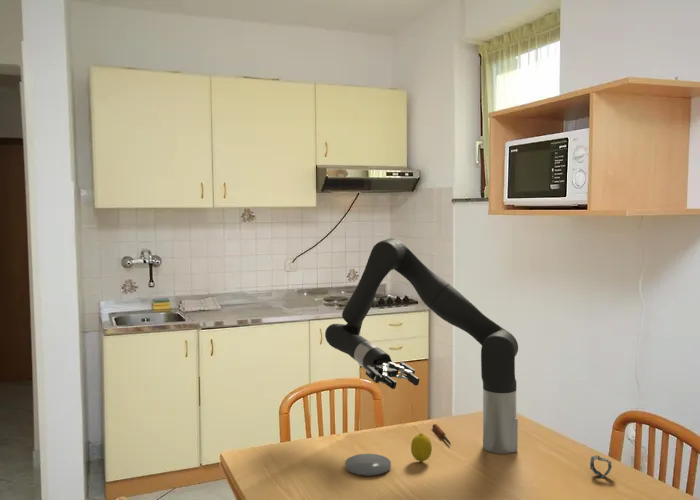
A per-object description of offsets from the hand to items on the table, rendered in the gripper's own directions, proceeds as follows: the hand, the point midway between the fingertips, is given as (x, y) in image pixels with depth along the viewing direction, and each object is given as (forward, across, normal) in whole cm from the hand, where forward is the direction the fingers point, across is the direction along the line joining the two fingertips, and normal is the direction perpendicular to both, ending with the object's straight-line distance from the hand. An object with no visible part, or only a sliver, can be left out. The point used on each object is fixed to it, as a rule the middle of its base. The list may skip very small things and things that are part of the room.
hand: (406, 384), depth 173 cm
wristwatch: (+45, +29, +6) cm, 54 cm away
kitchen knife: (+3, +18, +19) cm, 26 cm away
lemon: (+12, 0, +17) cm, 21 cm away
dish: (+6, -13, +20) cm, 25 cm away
